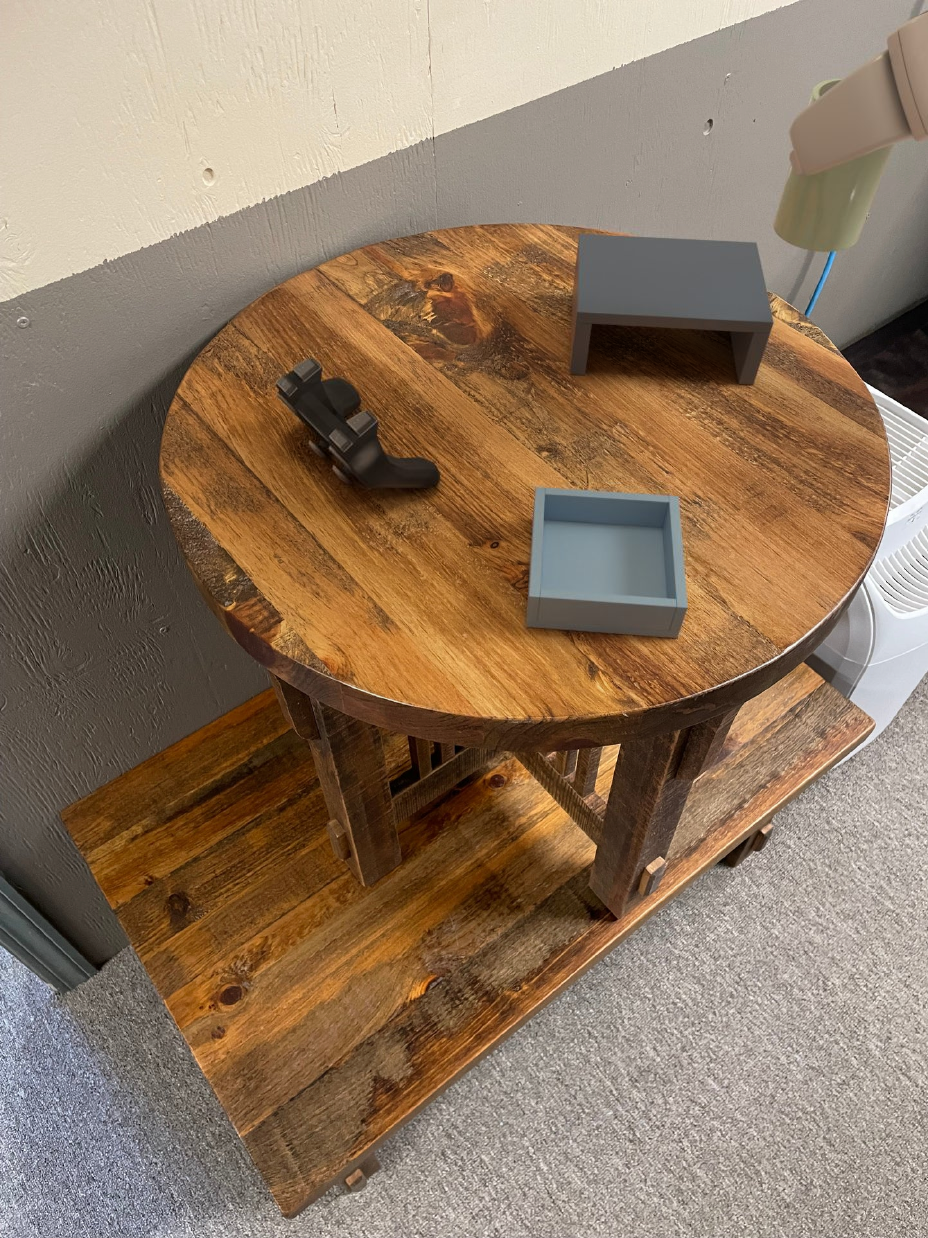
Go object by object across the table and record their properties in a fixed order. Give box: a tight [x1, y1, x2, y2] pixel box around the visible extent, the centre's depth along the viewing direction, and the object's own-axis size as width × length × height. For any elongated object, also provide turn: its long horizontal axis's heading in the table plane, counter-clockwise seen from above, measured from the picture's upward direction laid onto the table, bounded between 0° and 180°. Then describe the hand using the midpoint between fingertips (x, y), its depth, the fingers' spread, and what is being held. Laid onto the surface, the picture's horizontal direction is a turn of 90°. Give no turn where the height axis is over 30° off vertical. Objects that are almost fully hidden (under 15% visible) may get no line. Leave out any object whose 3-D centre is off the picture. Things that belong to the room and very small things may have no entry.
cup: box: [773, 77, 895, 253], centre depth 67 cm, size 7×7×10 cm
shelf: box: [569, 233, 775, 386], centre depth 87 cm, size 18×14×7 cm
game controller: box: [275, 357, 441, 491], centre depth 75 cm, size 16×7×10 cm, turn 37°
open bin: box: [525, 486, 689, 639], centre depth 68 cm, size 12×12×4 cm
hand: (835, 149), depth 66 cm, fingers closed on cup, 7 cm apart
